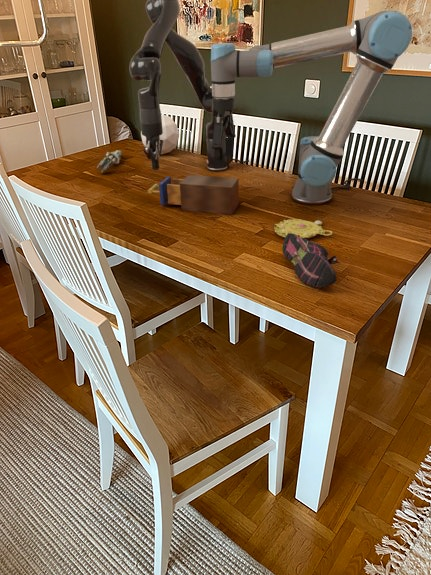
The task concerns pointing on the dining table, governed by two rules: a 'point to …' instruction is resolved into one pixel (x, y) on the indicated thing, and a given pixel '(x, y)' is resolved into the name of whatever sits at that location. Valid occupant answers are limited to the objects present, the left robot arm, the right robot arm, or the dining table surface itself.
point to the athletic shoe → (309, 261)
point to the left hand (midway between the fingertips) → (155, 169)
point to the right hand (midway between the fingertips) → (224, 161)
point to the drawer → (168, 191)
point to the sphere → (167, 134)
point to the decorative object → (300, 228)
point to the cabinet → (209, 194)
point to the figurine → (110, 160)
